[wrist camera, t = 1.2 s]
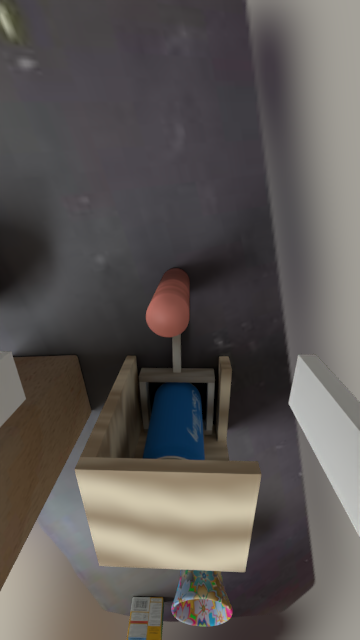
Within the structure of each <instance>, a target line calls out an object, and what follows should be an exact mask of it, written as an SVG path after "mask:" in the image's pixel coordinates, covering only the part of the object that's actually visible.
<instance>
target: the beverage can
mask: <svg viewBox="0 0 360 640" xmlns="http://www.w3.org/2000/svg"><path fill="white" fill-rule="evenodd" d="M142 459H178V460H205V454H204V438H203V422H202V405H201V395H200V393H199V391H198V389H197V388H196V387H195V386H194V385H192V384H191V383H187V382H166V383H164V384H162V385H161V386H160V387H159V388H158V389H157V391H156V393H155V397H154V402H153V408H152V413H151V418H150V423H149V428H148V433H147V438H146V443H145V448H144V453H143V458H142Z"/></svg>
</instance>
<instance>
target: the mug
mask: <svg viewBox="0 0 360 640" xmlns="http://www.w3.org/2000/svg"><path fill="white" fill-rule="evenodd" d="M171 610H172V614H173V615H174V617H175V618H176V619H178V620H179V621H181V622H184V623H186V624H190V625H194V626H214V625H219V624H222V623H224V622H226V621H228V620H229V619H230V618H231V616H232V613H233V612H232V607H231V605H230V602H229V600H228V597H227V594H226V591H225V588H224V585H223V581H222V576H221V571H206V570H183V569H181V572H180V579H179V584H178V588H177V592H176V596H175V599H174V602H173V604H172V609H171Z"/></svg>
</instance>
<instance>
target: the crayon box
mask: <svg viewBox="0 0 360 640" xmlns="http://www.w3.org/2000/svg"><path fill="white" fill-rule="evenodd" d="M163 612H164V600H163V597H135V596H134V597H133V600H132V607H131V614H130V621H129V627H128V635H127V640H162V627H163V626H162V625H163Z"/></svg>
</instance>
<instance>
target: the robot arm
mask: <svg viewBox="0 0 360 640" xmlns="http://www.w3.org/2000/svg"><path fill="white" fill-rule="evenodd" d="M25 400H26V397H25V394H24V391H23V388H22V384H21V381H20V378H19V375H18V372H17V368H16V365H15V362H14V359H13V356H12V353H11V351H0V427H1V426H2V425H3V424H4V423H5V422H6V420H7V419H8V418H9V417H10V416H11V415H12V414H13V413H14V412H15V411H16V409H17V408H18V407H19V406H20V405H21V404H22V403H23V402H24V401H25ZM288 404H289V406H290V407H291V409H292V411H293V413H294V415H295V417H296V419H297V421H298V422H299V424H300V426H301V428H302V430H303V431H304V434H305V435H306V437H307V439H308V441H309V443H310V445H311V447H312V449H313V451H314V452H315V454H316V456H317V458H318V460H319V462H320V464H321V466H322V467H323V469H324V471H325V473H326V475H327V477H328V479H329V481H330V482H331V484H332V486H333V488H334V490H335V492H336V494H337V496H338V497H339V499H340V501H341V503H342V505H343V507H344V509H345V511H346V513H347V514H348V516H349V518H350V520H351V522H352V524H353V526H354V528H355V529H356V531H357V533H358V535H359V537H360V402H359V400H357V398H356V397H355V396H354V395H353V394H352V393H351V392H350V391H349V390H348V389H347V388H346V386H345V385H344V384H343V383H342V382H341V381H340V380H339V379H338V378H337V377H336V376H335V375H334V374H333V372H332V371H331V370H330V369H329V368H328V367H327V366H326V365H325V364H324V363H323V362H322V361H321V359H320V358H318V356H317V355H313V354H312V355H311V354H310V355H309V354H299V355H298V358H297V363H296V369H295V373H294V378H293V383H292V388H291V393H290V398H289V403H288Z"/></svg>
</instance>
